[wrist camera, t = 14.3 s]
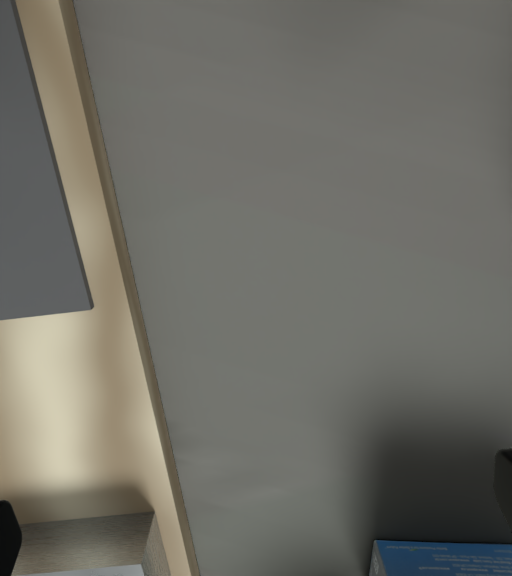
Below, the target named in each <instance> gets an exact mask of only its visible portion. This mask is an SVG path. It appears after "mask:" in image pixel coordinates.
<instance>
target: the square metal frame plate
mask: <svg viewBox="0 0 512 576" xmlns="http://www.w3.org/2000/svg"><path fill="white" fill-rule="evenodd" d="M19 525H20V528H21V531H22V545H21V549H20V551H19V554H18V557H17V560H16V563H15V566H14V569H13V572H12V575H11V576H171V573H170V569H169V565H168V561H167V557H166V553H165V549H164V545H163V541H162V537H161V533H160V529H159V525H158V521H157V517H156V513H155V511H153V512H142V513H132V514H122V515H112V516H101V517H91V518H81V519H70V520H60V521H50V522H39V523H29V524H19Z"/></svg>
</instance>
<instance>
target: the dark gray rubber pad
mask: <svg viewBox="0 0 512 576" xmlns="http://www.w3.org/2000/svg"><path fill="white" fill-rule="evenodd" d="M93 308H94V303H93V299H92V295H91V291H90V288H89V284H88V280H87V276H86V272H85V268H84V264H83V260H82V257H81V253H80V249H79V245H78V241H77V237H76V233H75V230H74V226H73V222H72V218H71V214H70V210H69V206H68V202H67V199H66V195H65V191H64V187H63V183H62V179H61V175H60V171H59V168H58V164H57V160H56V156H55V152H54V148H53V144H52V140H51V137H50V133H49V129H48V125H47V121H46V117H45V113H44V110H43V106H42V102H41V98H40V94H39V90H38V86H37V82H36V79H35V75H34V71H33V67H32V63H31V59H30V55H29V51H28V48H27V44H26V40H25V36H24V32H23V28H22V24H21V20H20V17H19V13H18V9H17V5H16V1H15V0H0V320H9V319H17V318H26V317H35V316H43V315H52V314H61V313H70V312H78V311H87V310H92V309H93Z"/></svg>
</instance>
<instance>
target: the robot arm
mask: <svg viewBox="0 0 512 576" xmlns="http://www.w3.org/2000/svg"><path fill="white" fill-rule="evenodd" d="M493 488H494V493H495V497H496V500H497V502H498V504H499V506H500V508H501V510H502V513H503V515H504V517H505V519H506V521H507V523H508V525H509V527H510V530H511V532H512V448H510V449H501V450H499V451H497V453H496V456H495V468H494V483H493ZM21 545H22V531H21V528H20V525H19V523H18V520H17V518H16V515H15V512H14V510H13V507H12V505H11V503H10V502H9V501H8V500H0V576H11V575H12V572H13V569H14V566H15V563H16V560H17V557H18V554H19V551H20V549H21Z"/></svg>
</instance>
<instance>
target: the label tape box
mask: <svg viewBox="0 0 512 576" xmlns="http://www.w3.org/2000/svg"><path fill="white" fill-rule="evenodd" d="M369 576H512V544H476V543H436V542H409V541H385V540H375V541H374V545H373V551H372V559H371V566H370V573H369Z"/></svg>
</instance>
